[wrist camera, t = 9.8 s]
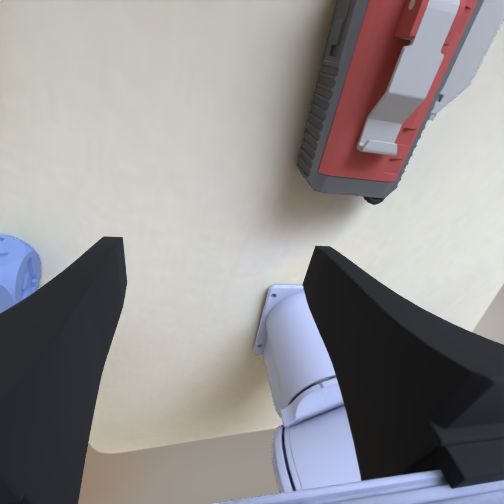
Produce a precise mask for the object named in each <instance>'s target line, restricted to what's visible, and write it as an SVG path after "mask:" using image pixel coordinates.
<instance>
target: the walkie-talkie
mask: <svg viewBox="0 0 504 504" xmlns="http://www.w3.org/2000/svg"><path fill="white" fill-rule="evenodd" d="M503 20H504V0H337V4H336V8H335V12H334V16H333V20H332V24H331V28H330V32H329V36H328V40H327V44H326V48H325V52H324V56H323V60H322V69H321V71H320V72H319V75H320V76H319V81H318V82H317V84H316V86H317V88H316V92H314V100H313V102H312V103H311V106H312V108H311V111H310V112H309V115H310V116H309V120H308V121H307V123H306V124H307V128H306V130H305V131H304V133H305V135H304V138H303V139H302V142H303V143H302V147H300V155H299V156H298V163H297V164H296V165H297V167H298V169H299V170H300V172H301V174H302V175H303V177H304V178H305V179H306V180H307V182H308V183H309V184H310V185H311V187H312V188H313V189H314V190H316V191H319V192H324V193H334V194H345V195H356V196H363V197H364V199H365V200H367V202H368V203H371V204H373V205H375V204H379V203H380V202H382V201H383V200H384V199H385V197H387V196H388V195H389V194H390V193H391V192H392V191H393V190H395V189H396V188H397V185H398V183H399V181H400V180H401V176H402V174H403V173H404V170H405V167H406V165H408V163H409V162H408V161H409V159H410V157H411V156H412V152H413V150H414V148H416V146H417V145H416V144H417V142H418V139H420V137H421V133H422V131H423V130H424V128H425V124H426V122H427V120H433V119H434V117H435V115H436V114H437V113H438V112H439V111H440V110H441V109H443V108H444V107H445V106H446V105H447V104H448V103H450V102H451V101H452V100H453V99H454V98H456V97H457V96H458V95H459V94H460V93H461V92H463V91H464V90H465V89H466V88H467V87H468V86H470V84H471V83H472V81H473V79H474V77H475V75H476V73H477V71H478V69H479V67H480V65H481V63H482V61H483V59H484V57H485V56H486V54H487V52H488V50H489V48H490V46H491V44H492V42H493V40H494V38H495V36H496V34H497V32H498V30H499V28H500V26H501V24H502V22H503Z"/></svg>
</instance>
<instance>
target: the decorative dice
mask: <svg viewBox="0 0 504 504" xmlns="http://www.w3.org/2000/svg"><path fill="white" fill-rule="evenodd" d="M40 272H41V264H40V258H39V256H38V254H37V253H36V251H35V250H34V249H33V248H32V247H30V246H29V245H28V244H26V243H25V242H23V241H21V240H19V239H16V238H14V237H11V236H6V235H0V313H2V312H4V311H5V310H7V309H9V308H10V307H12V306H14V305H15V304H17V303H18V302H20V301H22V300H23V299H25V298H26V297H28V296H29V295H31V294H33V293H34V292H35V291H37V288H38V284H39V280H40Z"/></svg>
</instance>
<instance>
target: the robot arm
mask: <svg viewBox="0 0 504 504" xmlns="http://www.w3.org/2000/svg"><path fill="white" fill-rule="evenodd" d="M126 286H127V276H126V266H125V256H124V246H123V237H102V238H101V239H100V240H99V241H98V242H96V243H95V244H94V245H93V246H92V247H91V248H90V249H88V250H87V251H86V252H85V253H84V254H83V255H82V256H80V257H79V258H78V259H77V260H76V261H75V262H73V263H72V264H71V265H70V266H69V267H67V268H66V269H65V270H64V271H63V272H61V273H60V274H59V275H57V276H56V277H55V278H53V279H52V280H51V281H49V282H48V283H47V284H45V285H44V286H43V287H41V288H40V289H38V290H37V291H35V292H34V293H33V294H31V295H29V296H28V297H26V298H25V299H23V300H22V301H20V302H18V303H17V304H15V305H14V306H12V307H10V308H9V309H7V310H5V311H4V312H2V313H0V504H78V499H79V494H80V487H81V481H82V475H83V469H84V464H85V458H86V452H87V447H88V441H89V435H90V430H91V425H92V420H93V415H94V409H95V404H96V399H97V395H98V390H99V385H100V380H101V376H102V372H103V368H104V365H105V361H106V358H107V355H108V352H109V349H110V346H111V343H112V339H113V336H114V333H115V330H116V327H117V324H118V321H119V318H120V314H121V311H122V308H123V303H124V298H125V292H126ZM272 294H274V295H272ZM253 352H254V354H256V355H263V357H264V362H265V366H266V371H267V375H268V380H269V384H270V389H271V393H272V398H273V402H274V406H275V409H276V411H277V413H278V414H279V416H280V417H281V419H282V421H283V425H281V426H278V427H277V428H276V430H275V433H274V438H273V442H272V450H271V453H272V463H273V469H274V474H275V479H276V483H277V486H278V489H279V493H278V494H271V495H264V496H258V497H251V498H245V499H238V500H231V501H224V502H217V503H210V504H504V345H503V344H500V343H497V342H494V341H492V340H489V339H487V338H484V337H482V336H480V335H477V334H475V333H472V332H470V331H467V330H465V329H463V328H461V327H459V326H456V325H454V324H452V323H450V322H448V321H446V320H444V319H442V318H440V317H438V316H436V315H434V314H432V313H430V312H428V311H426V310H424V309H422V308H420V307H419V306H417V305H415V304H413V303H412V302H410V301H408V300H407V299H405V298H403V297H402V296H400V295H398V294H397V293H395V292H394V291H392V290H391V289H389V288H388V287H386V286H385V285H383V284H382V283H380V282H379V281H377V280H376V279H374V278H373V277H372V276H370V275H369V274H368V273H366V272H365V271H363V270H362V269H361V268H359V267H358V266H357V265H355V264H354V263H353V262H351V261H350V260H349V259H347V258H346V257H345V256H343V255H342V254H340V253H339V252H338V251H336V250H335V249H333V248H331V247H330V246H315V249H314V252H313V255H312V258H311V261H310V264H309V267H308V270H307V273H306V276H305V279H304V282H303V285H272V286H270V287H269V289H268V293H267V297H266V301H265V305H264V308H263V312H262V316H261V320H260V324H259V328H258V332H257V336H256V340H255V344H254V348H253Z"/></svg>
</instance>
